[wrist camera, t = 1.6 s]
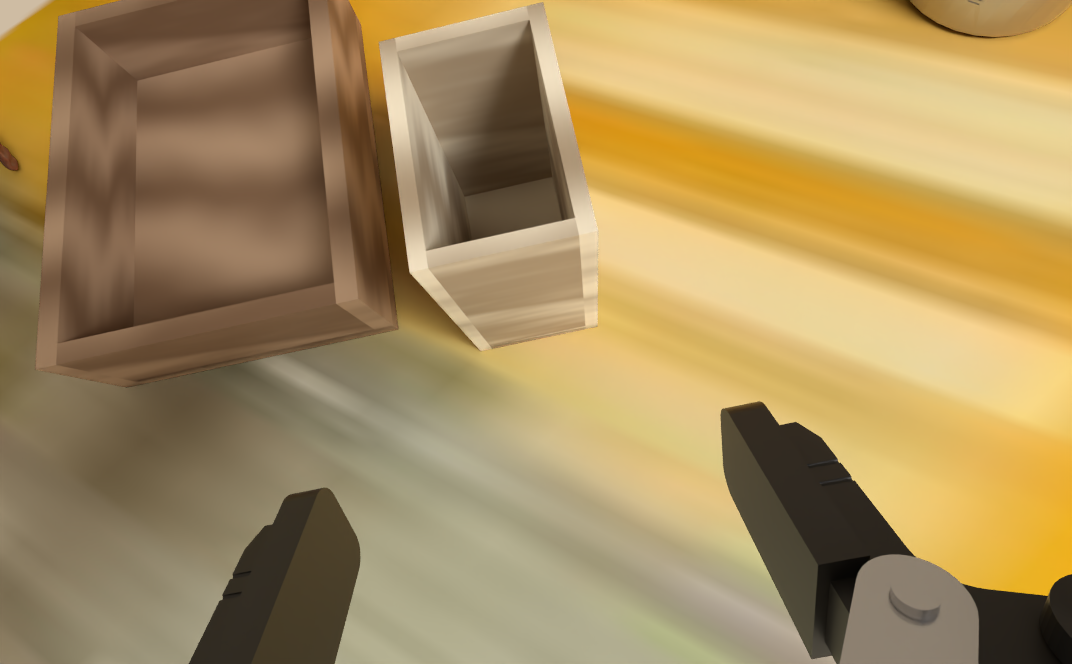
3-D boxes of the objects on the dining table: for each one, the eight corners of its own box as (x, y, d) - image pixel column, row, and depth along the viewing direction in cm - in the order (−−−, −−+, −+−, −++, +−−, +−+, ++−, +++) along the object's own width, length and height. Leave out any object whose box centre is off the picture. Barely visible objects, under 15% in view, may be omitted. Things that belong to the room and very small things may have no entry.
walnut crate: (132, 80, 35) (58, 16, 30) (360, 24, 34) (321, -51, 29) (127, 387, 29) (35, 369, 24) (398, 329, 29) (358, 298, 24)
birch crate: (454, 195, 30) (378, 42, 20) (561, 170, 30) (543, 1, 19) (480, 351, 28) (409, 272, 17) (597, 326, 27) (598, 230, 17)
